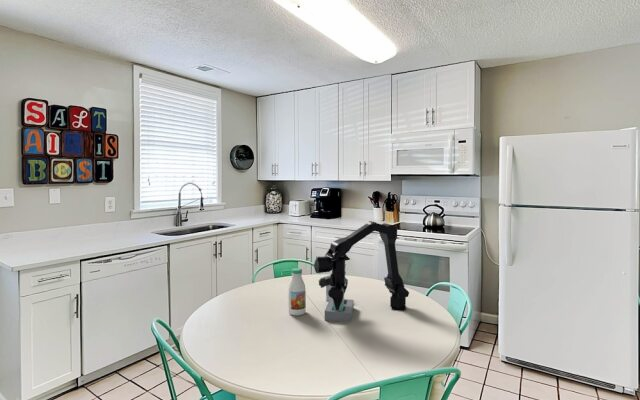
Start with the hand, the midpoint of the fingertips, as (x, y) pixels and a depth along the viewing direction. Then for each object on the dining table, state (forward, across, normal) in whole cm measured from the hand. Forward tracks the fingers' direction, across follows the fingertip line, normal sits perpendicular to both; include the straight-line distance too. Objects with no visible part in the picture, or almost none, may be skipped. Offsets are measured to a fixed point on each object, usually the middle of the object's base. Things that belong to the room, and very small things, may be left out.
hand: (338, 306), depth 156 cm
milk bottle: (+5, -2, -19) cm, 20 cm away
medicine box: (+5, -22, -5) cm, 23 cm away
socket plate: (+5, -4, 0) cm, 6 cm away
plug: (+5, 0, 0) cm, 5 cm away
